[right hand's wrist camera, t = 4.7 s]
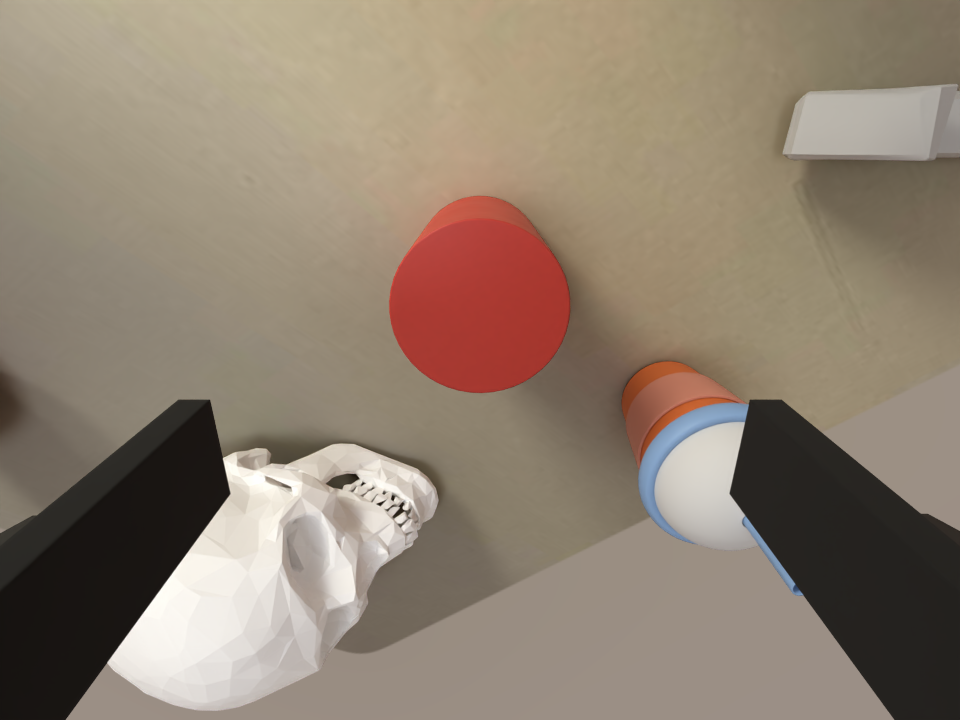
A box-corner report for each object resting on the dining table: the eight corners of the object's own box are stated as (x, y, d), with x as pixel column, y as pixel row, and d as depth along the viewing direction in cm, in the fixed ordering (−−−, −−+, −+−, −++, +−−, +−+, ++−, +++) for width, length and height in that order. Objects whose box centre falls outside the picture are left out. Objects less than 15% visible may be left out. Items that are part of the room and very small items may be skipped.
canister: (566, 247, 34) (608, 293, 23) (491, 341, 37) (496, 423, 26) (466, 168, 32) (459, 177, 21) (394, 272, 35) (354, 329, 24)
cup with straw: (730, 433, 39) (914, 639, 23) (614, 462, 40) (708, 681, 24) (715, 326, 36) (916, 474, 20) (589, 361, 37) (677, 531, 21)
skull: (457, 538, 43) (443, 731, 28) (213, 579, 45) (79, 781, 30) (418, 397, 39) (378, 538, 24) (149, 448, 40) (-45, 610, 26)
